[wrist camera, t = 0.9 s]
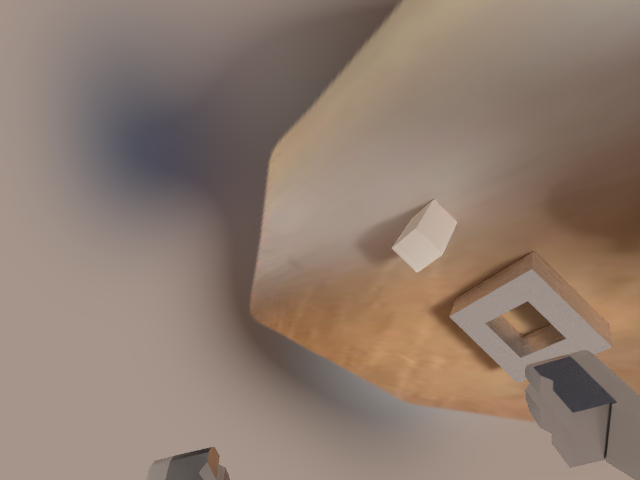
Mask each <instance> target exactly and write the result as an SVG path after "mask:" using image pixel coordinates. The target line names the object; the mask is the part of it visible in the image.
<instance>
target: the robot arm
mask: <svg viewBox="0 0 640 480" xmlns="http://www.w3.org/2000/svg"><path fill="white" fill-rule="evenodd" d="M525 377H526V378H527V380H528V381H529V382H530V384H529V385H528V387H527V388H526V389H525V392H526V401H527V404H528V407H529V410H530V412H531V414H532V416H533V418H534V419H535V421H536V422H537V424H538V425H539V426H540V427H541V428H542V429H544V430H546V431H548V432H550V433H552V444H553V445H554V447H555V448H556V449H557V451H558V452H559V453H560V455H561V456H562V458H563V459H564V460H565V462H566V463H567V464H568V465H569V467H570V468H571V467H575V466H579V465H584V464H588V463H592V462H597V461H601V460H606V462H608V463H609V464H611V465H613V466H614V467H616V468H617V469H619V470H620V471H622V472H624V473H626V474H627V475H628V476H630V477H632V478H633V479H635V480H640V396H639V395H638V394H637V393H636V392H635V391H634V390H633V389H632V388H630V387H629V386H628V385H627V384H626V383H625V382H624V381H623V380H621V379H620V378H619V377H618V376H617V375H616V374H615V373H614V372H613V371H611V370H610V369H609V368H608V367H607V366H606V365H605V364H604V363H602V362H601V361H600V360H599V359H598V358H597V357H596V356H595V355H594V354H592V353H591V352H590V351H587V350H582V351H578V352H574V353H570V354H567V355H562V356H558V357H555V358H551V359H547V360H544V361H540V362H536V363H533V364H529V365H527V366H526V368H525ZM218 463H219V454H218V452H217V450H216V449H215V447H210V448H206V449H202V450H197V451H193V452H189V453H184V454H180V455H176V456H172V457H168V458H164V459H160V460H156V461H154V462H153V464H152V465H151V466H150V468H149V471H148V475H147V478H146V480H230V479H229V475H228V472H227V470H226V468H225V467H223V466H221V465H219V464H218Z"/></svg>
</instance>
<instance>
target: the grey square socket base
mask: <svg viewBox="0 0 640 480" xmlns="http://www.w3.org/2000/svg"><path fill="white" fill-rule="evenodd" d="M527 301H528V302H529V303H530V304H531V305H532V306H533V307H534V308H535V309H536V310H537V311H538V312H540V313H541V314H542V315H543V316H544V317H545V318H546V319H547V320H548V321H549V322H550V323H551V324H550V325H547V326H545V327H543V328H541V329H539V330H536V331H534V332H532V333H530V334H528V335H526V336H522V335H521V334H520V333H519V332H518V331H517V330H516V329H515V328H514V327H512V326H511V325H510V324H509V323H508V322H507V321H506V320H505V319H504V318H503V317H502V316H501V315H502V314H504V313H506V312H508V311H510V310H512V309H514V308H516V307H517V306H519V305H521V304H523V303H525V302H527ZM449 317H450V318H451V319H452V320H453V321H454V322H455V323H456V324H457V325H458V326H459V327H460V328H461V329H462V330H463V331H464V332H465V333H466V334H468V335H469V336H470V337H471V338H472V339H473V340H474V341H475V342H476V343H477V344H478V345H479V346H480V347H481V348H482V349H483V350H484V351H485V352H486V353H487V354H488V355H489V356H490V357H491V358H492V359H493V360H494V361H495V362H496V363H497V364H498V365H499V366H500V367H501V368H502V369H503V370H504V371H506V372H507V373H508V374H509V375H510V376H511V377H512V378H513V379H514V380H515V381H516V382H517V383H519V382H522V381H524V380H527V378H526V377H525V368H526V366H527V365H529V364H533V363H536V362H540V361H544V360H547V359H551V358H555V357H558V356H562V355H567V354H570V353H574V352H578V351H582V350H587V351H590V352H591V353H592V354H596V353H599V352H601V351H604V350H607V349H609V348H612V341H611V334H610V327H609V324H608V323H607V322H606V321H605V320H604V319H603V318H602V317H601V316H600V315H599V314H598V313H597V312H596V311H595V310H594V309H593V308H592V307H591V306H590V305H589V304H588V303H587V302H586V301H585V300H584V299H583V298H582V297H581V296H580V295H579V294H578V293H577V292H576V291H574V290H573V289H572V288H571V287H570V286H569V285H568V284H567V283H566V282H565V281H564V280H563V279H562V278H561V277H560V276H559V275H558V274H557V273H556V272H555V271H554V270H553V269H552V268H551V267H550V266H549V265H548V264H547V263H546V262H545V261H544V260H543V259H542V258H541V257H540V256H538V255H537V254H536V253H535V252H534V251H533V252H531V253H529V254H528V255H526V256H525V257H523V258H521V259H520V260H518V261H516V262H515V263H513V264H511V265H510V266H508V267H506V268H505V269H503V270H502V271H500V272H498V273H497V274H495V275H493V276H492V277H490V278H488V279H487V280H485V281H483V282H482V283H480V284H478V285H477V286H475V287H474V288H472V289H470V290H469V291H467V292H465V293H464V294H462V295H460V296H459V297H457V298H455V301H454V304H453V307H452V310H451V313H450V316H449Z"/></svg>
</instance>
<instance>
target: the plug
mask: <svg viewBox="0 0 640 480" xmlns="http://www.w3.org/2000/svg"><path fill="white" fill-rule="evenodd" d="M456 224H457V221H456V220H455V219H454V218H453V217H452V216H451V215H450V214H449V213H448V212H447V211H446V210H445V209H444V208H442V207H441V206H440V205H439V204H438V203H437V202H436V201H435V200H434V199H433V200H432V201H431V202H430V203H429V204H427V205H426V206H425V207H424V208H423V209H422V210H421V211H419V212H418V213H417V214H416V215H415V216H414V217H412V218H411V220H410V221H409V223H408V224H407V226H406V227H405V229H404V230H403V232H402V233H401V235H400V236H399V238H398V239H397V241H396V242H395V244H394V245H393V247H392V249H393V250H394V251H395V252H396V253H397V254H398V255H399V256H400V257H401V258H402V259H403V260H404V261H405V262H406V263H407V264H408V265H409V266H410V267H411V268H412V269H413V270H414V271H415V272H416V273H418V272H419V271H421V270H422V269H423V268H425V267H426V266H427V265H429V264H430V263H432V262H433V261H434V260H436V259H437V258H439V257H440V256H441V255H443V253H444V251H445V249H446V246H447V244H448V242H449V240H450V238H451V235H452V233H453V231H454V229H455V227H456Z"/></svg>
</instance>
